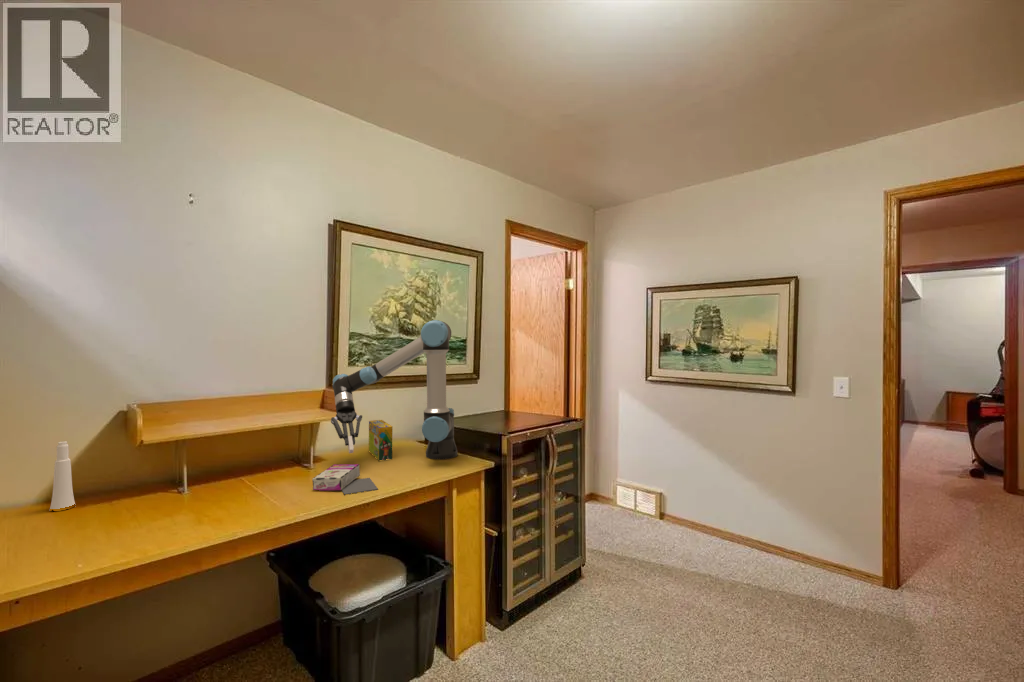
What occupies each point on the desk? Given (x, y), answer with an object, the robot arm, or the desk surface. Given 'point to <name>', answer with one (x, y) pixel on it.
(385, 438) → the fingerpaint box
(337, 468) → the candy bar box
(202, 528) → the desk surface
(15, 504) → the desk surface
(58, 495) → the cosmetic bottle
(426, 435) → the robot arm
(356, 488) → the mat
